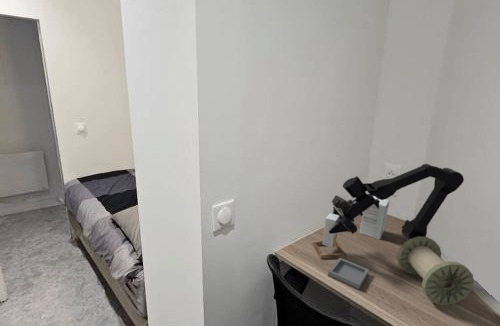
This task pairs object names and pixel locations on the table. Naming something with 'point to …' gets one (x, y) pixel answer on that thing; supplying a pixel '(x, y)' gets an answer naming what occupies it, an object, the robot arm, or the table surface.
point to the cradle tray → (348, 273)
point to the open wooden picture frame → (331, 255)
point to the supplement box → (374, 219)
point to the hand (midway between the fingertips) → (327, 228)
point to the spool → (435, 271)
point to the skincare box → (329, 224)
